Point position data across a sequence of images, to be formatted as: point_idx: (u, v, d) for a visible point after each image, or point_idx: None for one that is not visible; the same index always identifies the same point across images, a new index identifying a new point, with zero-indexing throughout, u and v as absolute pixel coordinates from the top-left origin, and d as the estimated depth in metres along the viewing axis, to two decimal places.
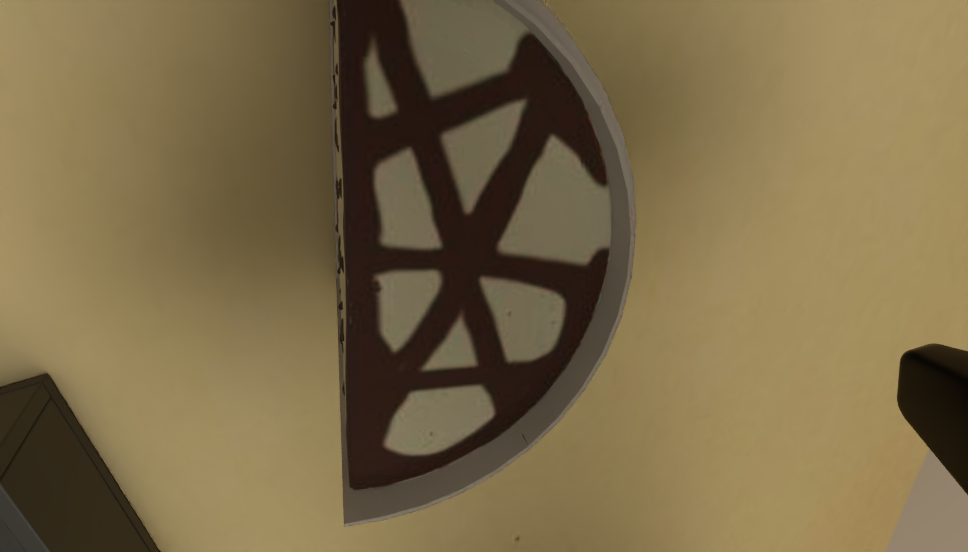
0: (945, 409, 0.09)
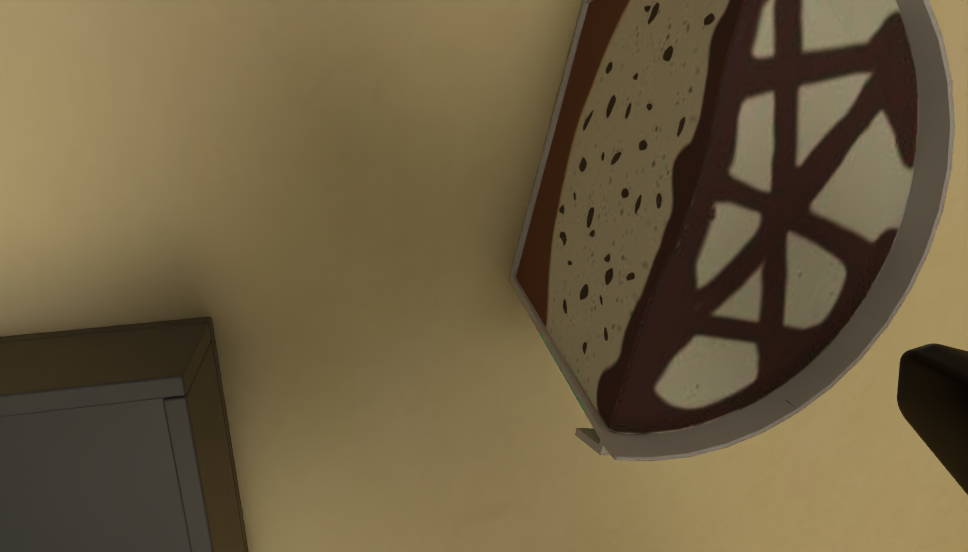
0: (945, 409, 0.09)
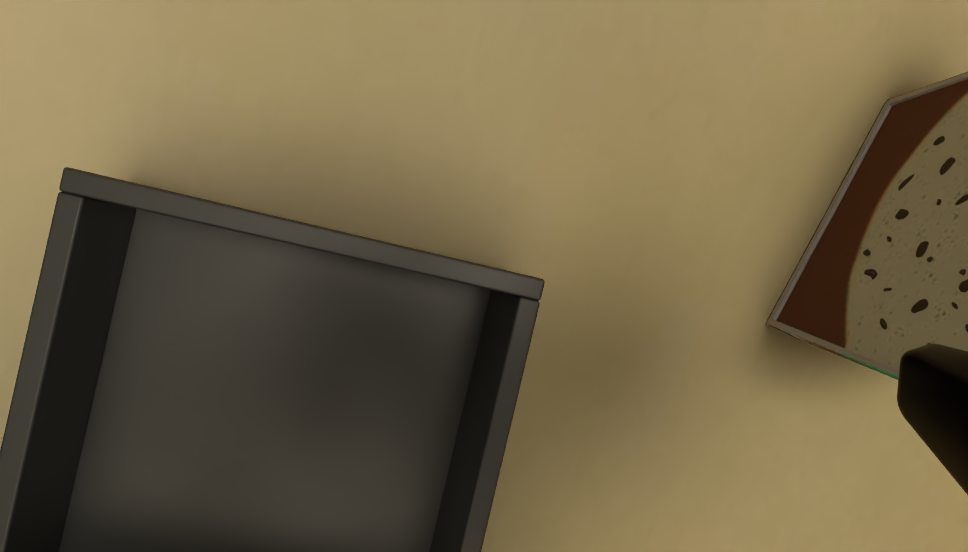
0: (945, 409, 0.09)
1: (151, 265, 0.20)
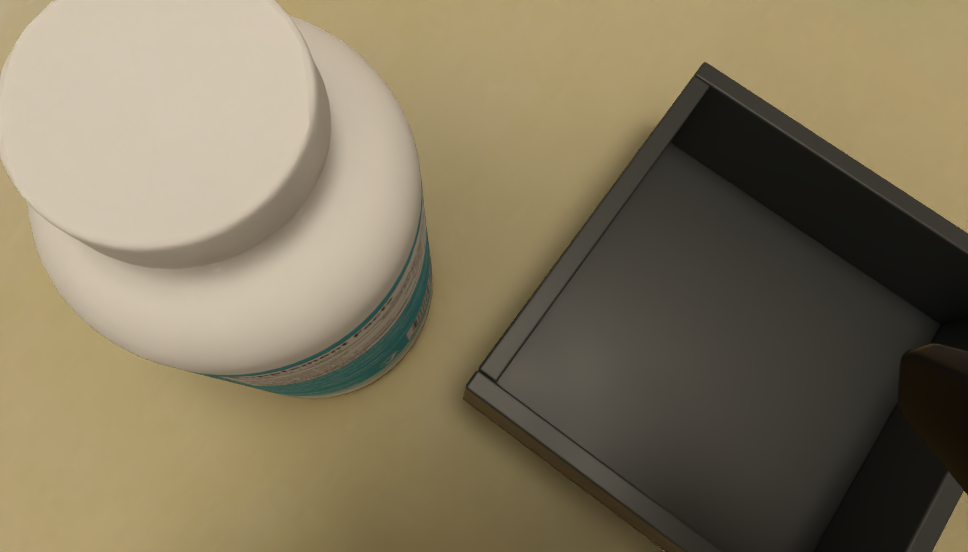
0: (945, 409, 0.09)
1: (662, 189, 0.24)
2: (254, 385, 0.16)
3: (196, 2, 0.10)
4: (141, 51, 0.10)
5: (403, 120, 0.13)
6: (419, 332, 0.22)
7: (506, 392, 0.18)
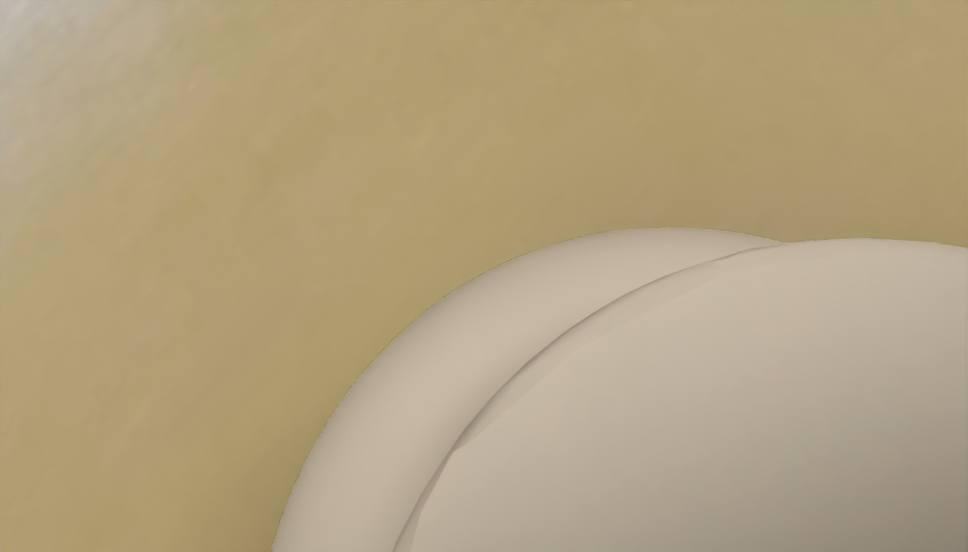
0: None
1: None
2: None
3: None
4: None
5: None
6: None
7: None
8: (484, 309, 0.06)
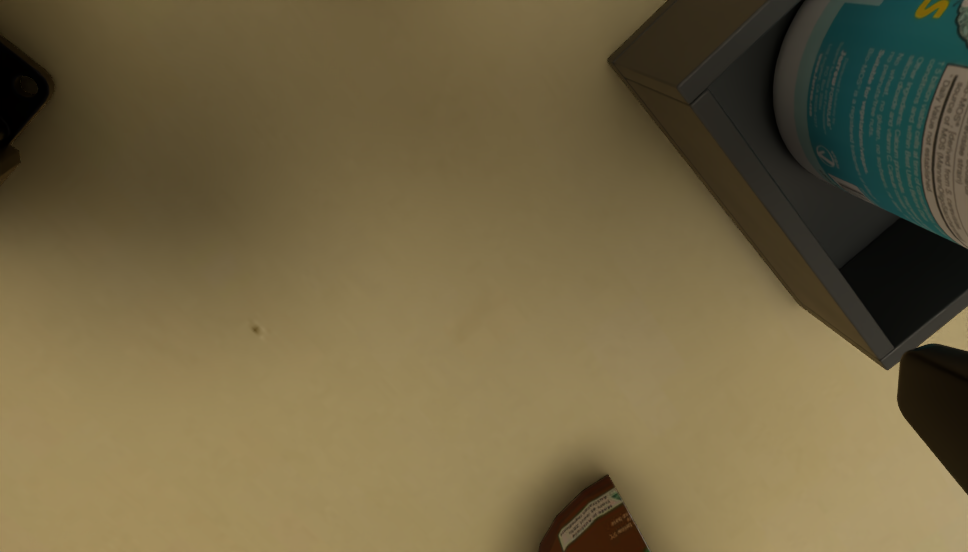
0: (945, 409, 0.09)
1: None
2: (943, 64, 0.14)
3: None
4: None
5: None
6: (808, 169, 0.21)
7: None
8: None
